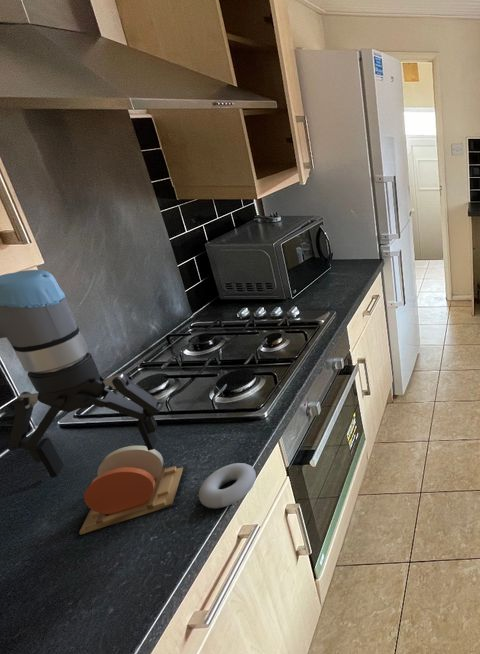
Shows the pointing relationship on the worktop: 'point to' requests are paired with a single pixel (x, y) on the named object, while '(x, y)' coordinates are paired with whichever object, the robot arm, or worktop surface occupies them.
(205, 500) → the donut
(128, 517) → the coaster rack
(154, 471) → the cream coaster
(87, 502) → the terracotta coaster
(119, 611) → the worktop surface
